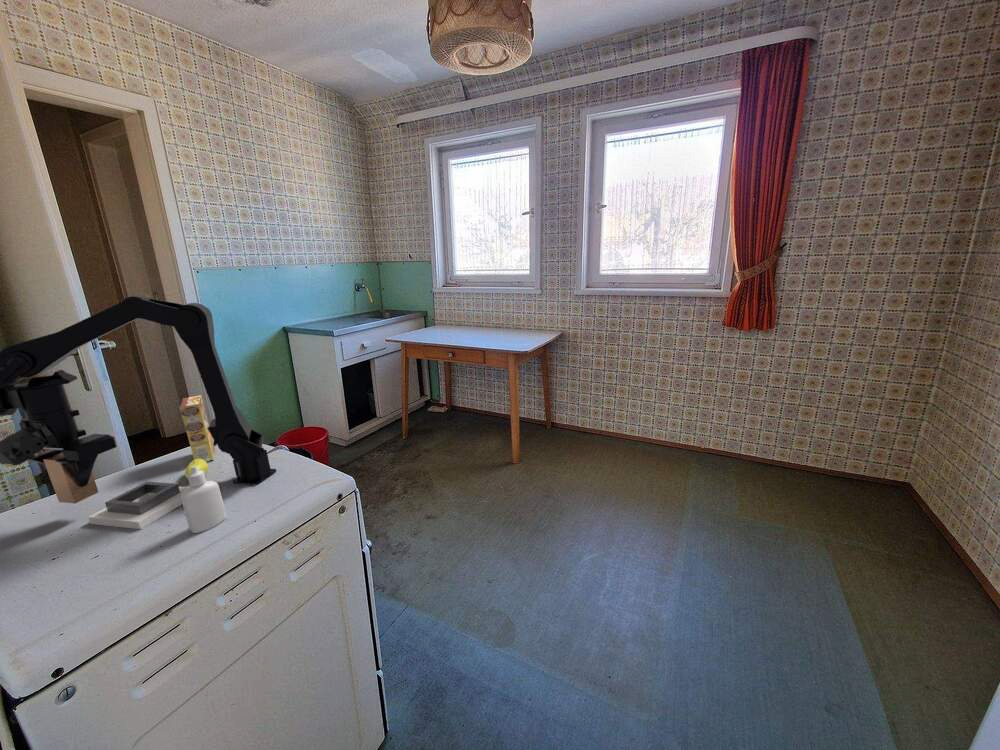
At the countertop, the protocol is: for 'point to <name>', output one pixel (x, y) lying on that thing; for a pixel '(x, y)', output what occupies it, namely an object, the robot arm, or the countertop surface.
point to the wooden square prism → (67, 482)
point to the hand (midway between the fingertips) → (75, 485)
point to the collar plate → (140, 505)
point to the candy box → (197, 428)
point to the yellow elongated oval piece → (199, 464)
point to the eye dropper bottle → (202, 502)
